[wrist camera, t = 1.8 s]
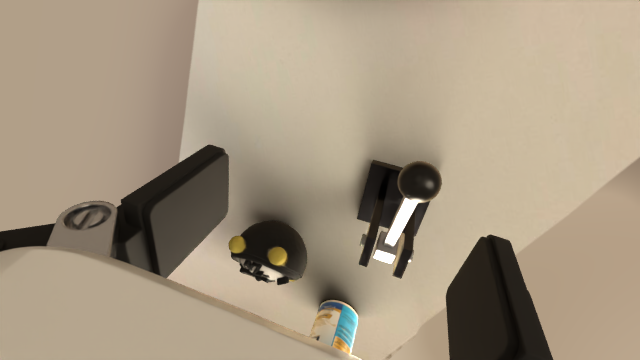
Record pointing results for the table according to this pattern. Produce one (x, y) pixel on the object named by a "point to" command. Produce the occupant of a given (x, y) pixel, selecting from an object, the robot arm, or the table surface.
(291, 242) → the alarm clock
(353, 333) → the beverage bottle
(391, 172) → the lever switch
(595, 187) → the table surface
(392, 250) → the ball knob lever
